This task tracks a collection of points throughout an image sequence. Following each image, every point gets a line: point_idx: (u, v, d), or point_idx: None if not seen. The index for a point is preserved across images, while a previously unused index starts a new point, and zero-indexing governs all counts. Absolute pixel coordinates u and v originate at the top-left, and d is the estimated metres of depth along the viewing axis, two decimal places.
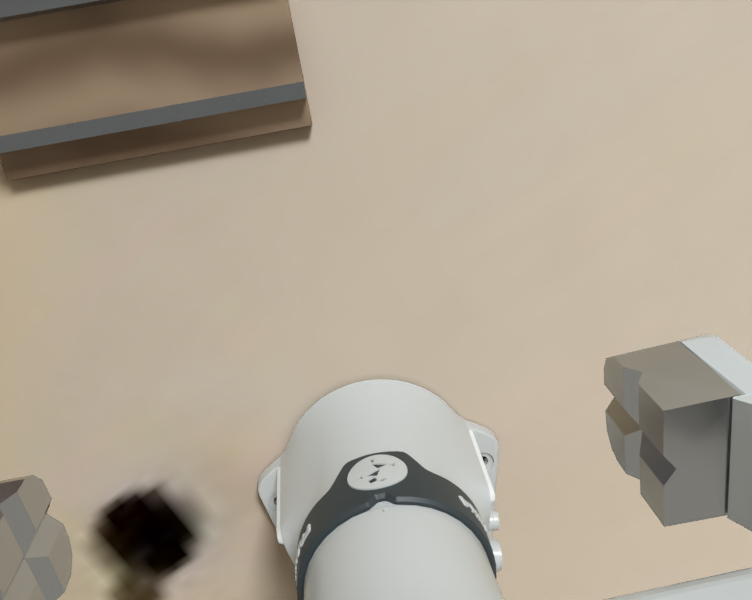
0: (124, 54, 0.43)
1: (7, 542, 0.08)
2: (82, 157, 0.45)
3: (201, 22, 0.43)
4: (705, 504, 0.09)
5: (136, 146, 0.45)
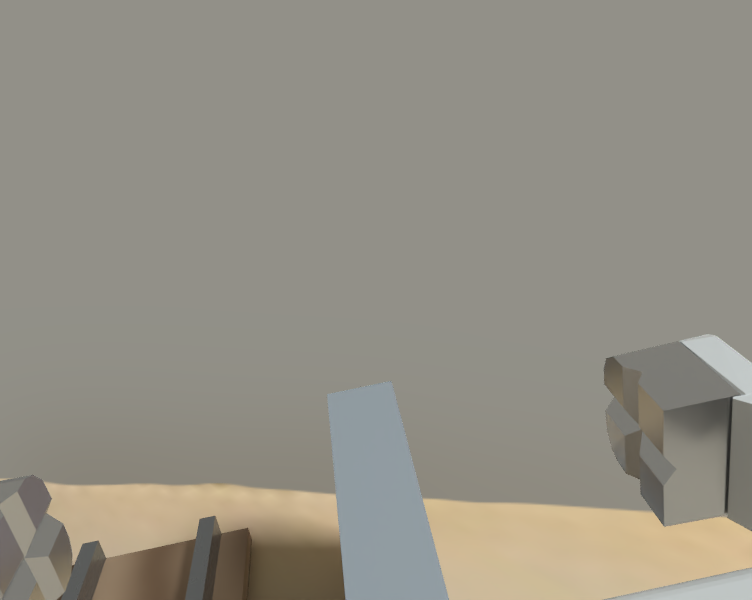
0: None
1: (7, 542, 0.08)
2: None
3: None
4: (705, 504, 0.09)
5: None
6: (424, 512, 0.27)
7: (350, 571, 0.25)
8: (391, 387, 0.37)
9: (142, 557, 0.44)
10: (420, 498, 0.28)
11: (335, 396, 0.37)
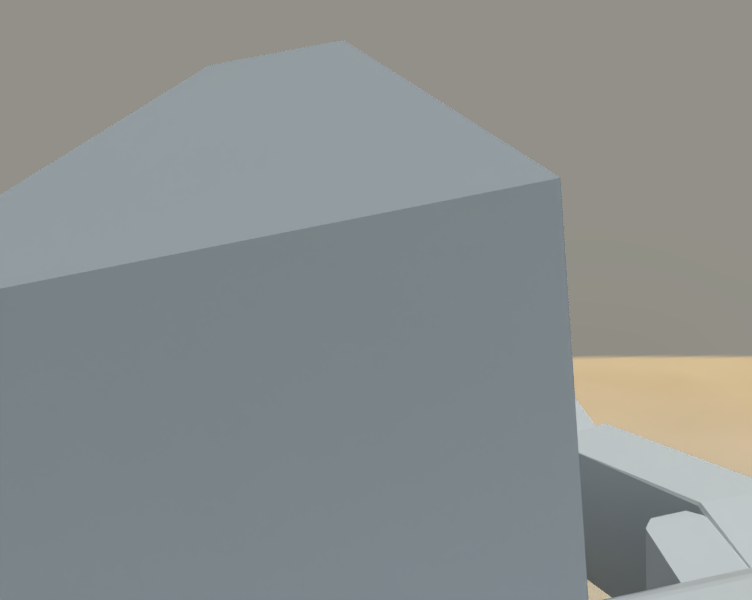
0: None
1: None
2: None
3: None
4: None
5: None
6: (392, 74, 0.08)
7: (63, 167, 0.06)
8: (341, 41, 0.17)
9: None
10: (383, 69, 0.09)
11: (224, 63, 0.17)
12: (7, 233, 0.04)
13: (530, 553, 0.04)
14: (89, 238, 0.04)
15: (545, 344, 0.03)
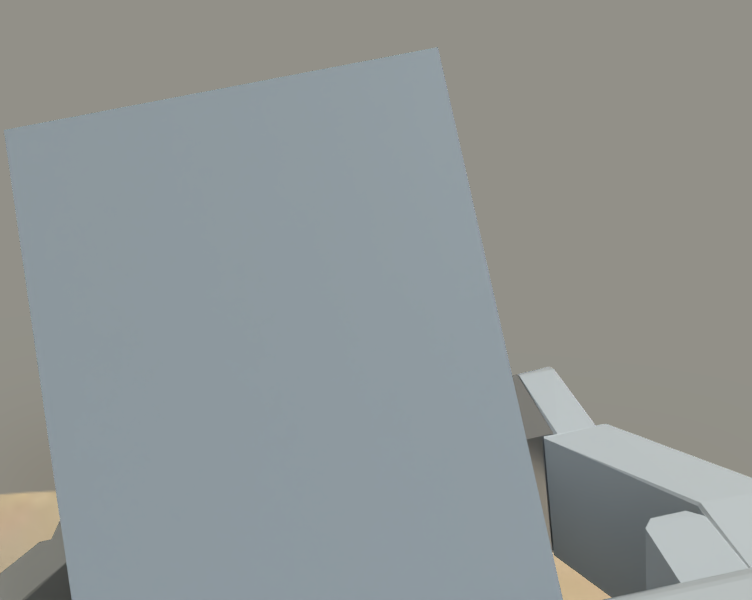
0: None
1: None
2: None
3: None
4: None
5: None
6: None
7: None
8: None
9: None
10: None
11: None
12: None
13: (455, 315, 0.05)
14: None
15: (443, 147, 0.05)
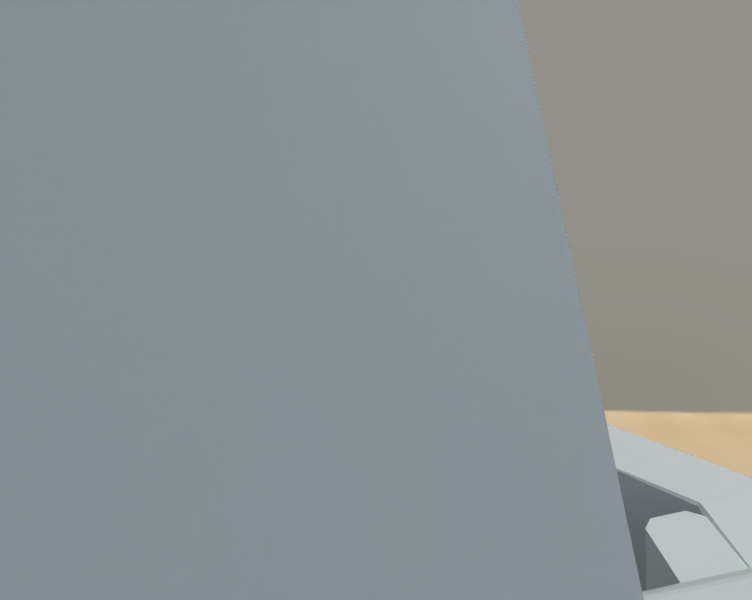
0: None
1: None
2: None
3: None
4: None
5: None
6: None
7: None
8: None
9: None
10: None
11: None
12: None
13: (499, 246, 0.03)
14: None
15: None
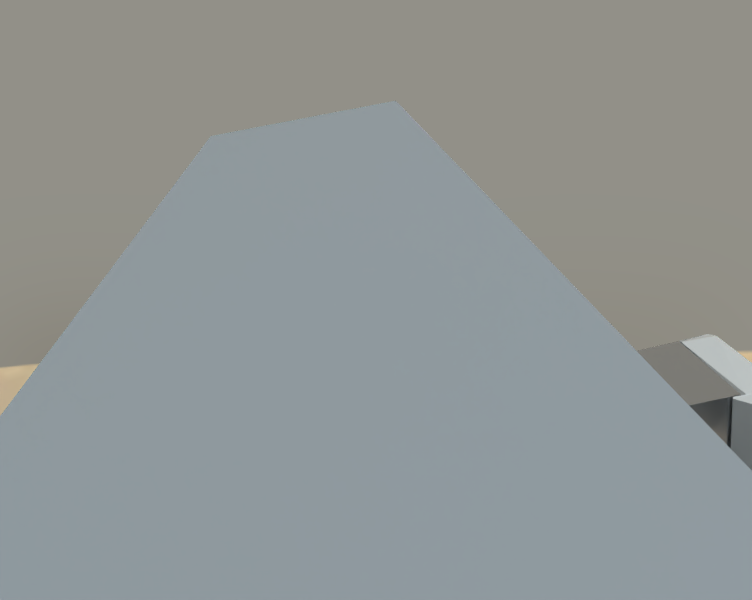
0: None
1: None
2: None
3: None
4: None
5: None
6: (648, 377, 0.03)
7: None
8: (395, 105, 0.12)
9: None
10: (578, 305, 0.04)
11: (232, 135, 0.12)
12: None
13: None
14: None
15: None
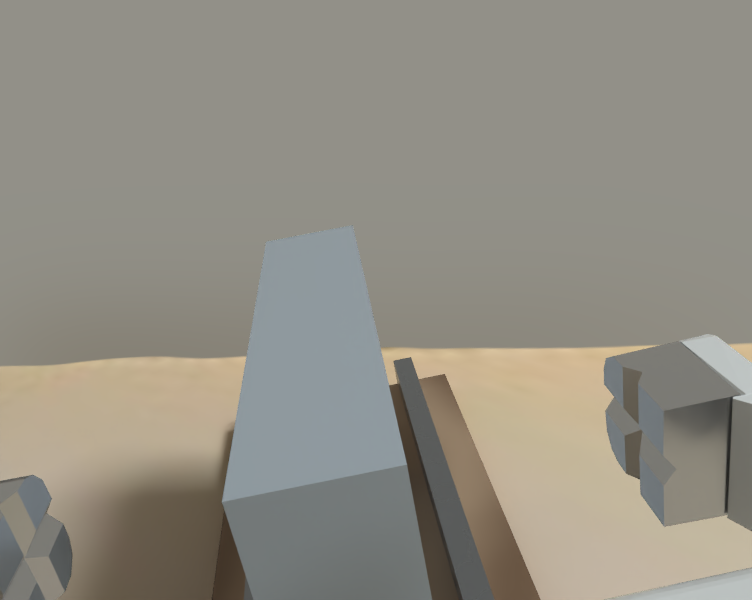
0: None
1: (7, 542, 0.08)
2: None
3: None
4: (705, 504, 0.09)
5: None
6: (376, 339, 0.18)
7: (247, 408, 0.16)
8: (351, 230, 0.27)
9: None
10: (372, 325, 0.19)
11: (276, 242, 0.27)
12: (257, 461, 0.14)
13: (407, 555, 0.14)
14: (285, 470, 0.13)
15: (406, 501, 0.13)
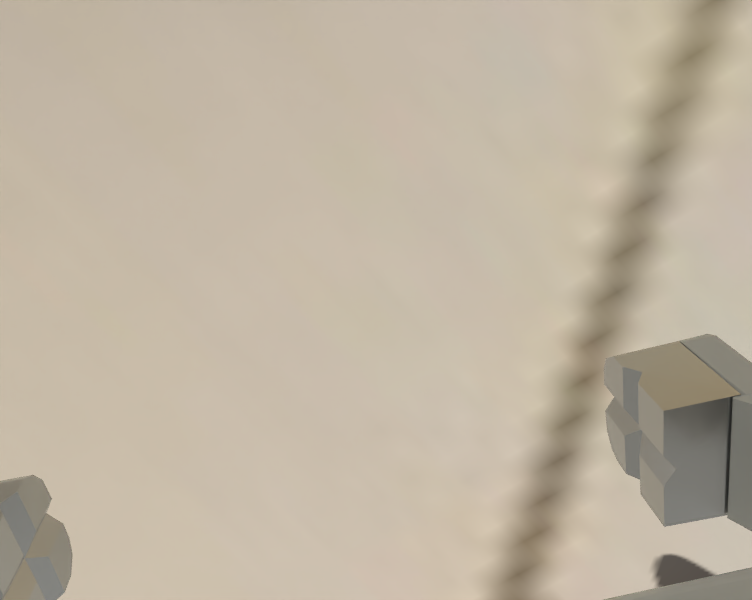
0: None
1: (7, 542, 0.08)
2: None
3: None
4: (705, 504, 0.09)
5: None
6: None
7: None
8: None
9: None
10: None
11: None
12: None
13: None
14: None
15: None
